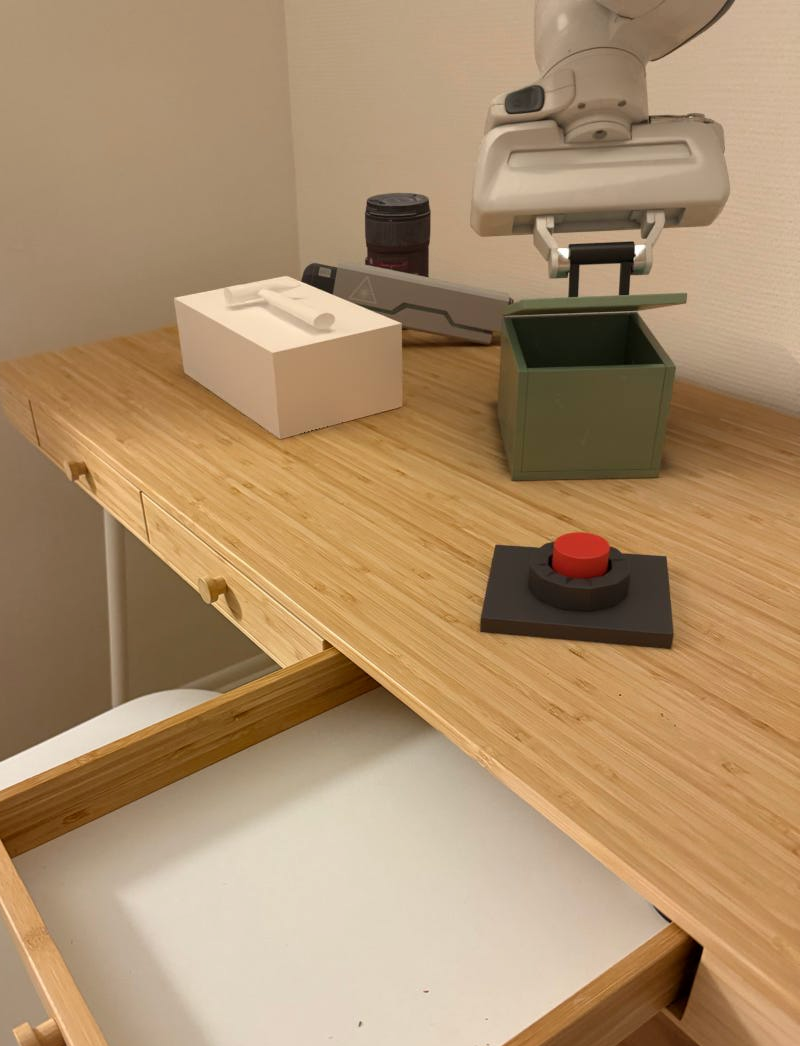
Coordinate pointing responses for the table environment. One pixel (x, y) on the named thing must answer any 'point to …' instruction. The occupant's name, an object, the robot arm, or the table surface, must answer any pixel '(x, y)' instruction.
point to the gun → (415, 299)
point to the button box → (579, 599)
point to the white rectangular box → (291, 354)
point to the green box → (583, 396)
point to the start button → (580, 555)
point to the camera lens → (398, 232)
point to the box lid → (596, 304)
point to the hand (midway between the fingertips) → (599, 273)
